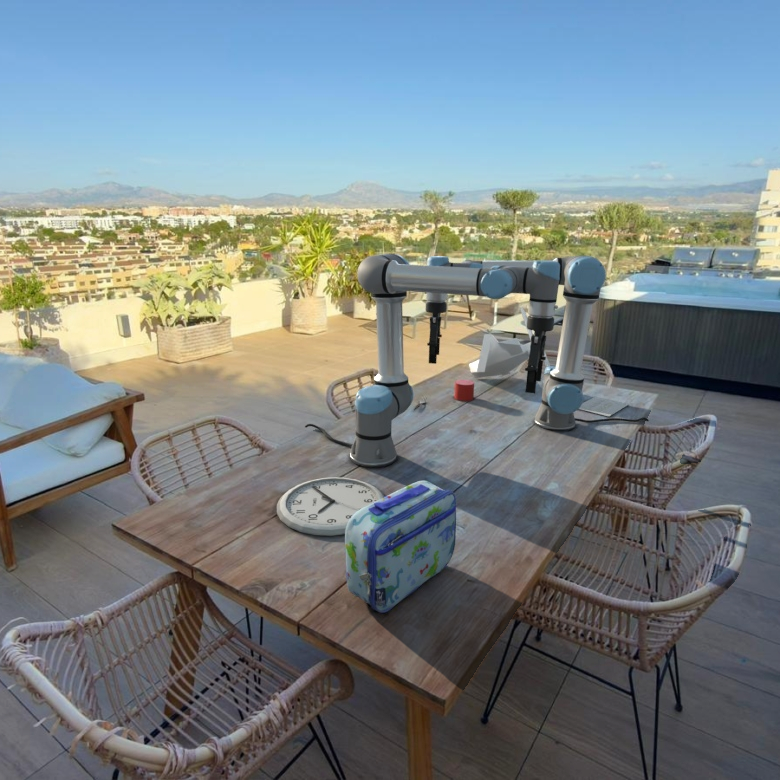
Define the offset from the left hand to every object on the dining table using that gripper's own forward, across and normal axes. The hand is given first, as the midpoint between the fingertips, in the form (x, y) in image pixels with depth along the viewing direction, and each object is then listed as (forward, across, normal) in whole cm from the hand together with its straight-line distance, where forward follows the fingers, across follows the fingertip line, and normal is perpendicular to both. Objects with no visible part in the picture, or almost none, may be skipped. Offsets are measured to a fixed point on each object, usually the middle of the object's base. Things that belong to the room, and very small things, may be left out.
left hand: (533, 386), depth 157 cm
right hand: (+2, +25, +39) cm, 46 cm away
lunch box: (+28, -66, +16) cm, 74 cm away
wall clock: (+28, -43, +45) cm, 69 cm away
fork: (+28, +45, +50) cm, 74 cm away
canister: (+28, +64, +36) cm, 79 cm away
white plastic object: (+28, +94, +21) cm, 100 cm away
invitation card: (+28, +77, -22) cm, 85 cm away
